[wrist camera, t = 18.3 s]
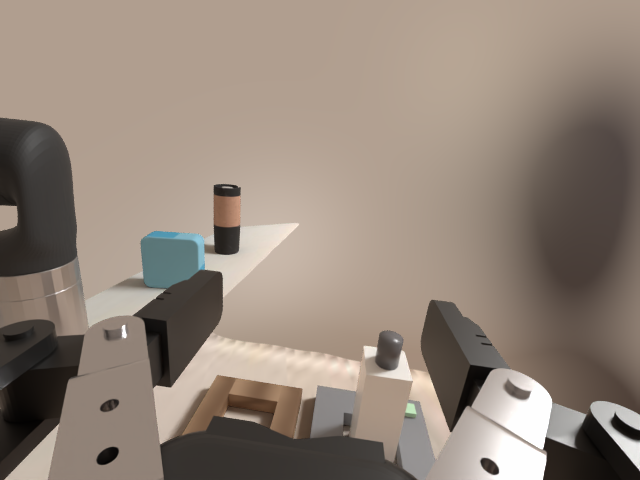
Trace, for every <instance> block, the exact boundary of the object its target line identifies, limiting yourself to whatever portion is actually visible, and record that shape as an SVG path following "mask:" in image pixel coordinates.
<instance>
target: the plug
mask: <svg viewBox="0 0 640 480" xmlns="http://www.w3.org/2000/svg"><path fill="white" fill-rule="evenodd" d="M402 345H403V338H402V337H401V335H399V334H397V333H396V332H393V331H383V332H381V333H380V335H379V340H378V345H377V348H376V347H370V346H364V348H363V354H362V360H361V366H360V372H359V378H358V384H357V390H356V396H355V402H354V408H353V414H352V420H351V426H350V432H349V437H352V438H358V439H365V440H371V441H377V442H383V447H384V455H385V459H386V460H389V461H391V462H393V463H394V459H395V455H396V451H397V446H398V442H399V438H400V434H401V429H402V425H403V421H404V416H405V412H406V408H407V404H408V399H409V395H410V391H411V386H412V382H413V381H412V377H411V373H410V370H409V366H408V363H407V359H406V356H405V352H404V351H401V350H402Z"/></svg>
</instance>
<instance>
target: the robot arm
mask: <svg viewBox="0 0 640 480" xmlns="http://www.w3.org/2000/svg"><path fill="white" fill-rule="evenodd" d="M0 205H8V206H17V211H18V224H17V226H16V227H14V228H11V229H8V230H3V231H0V480H4V479H5V478H6V477H7V476H8V475H9V474H10V473H11V472H12V471H13V470H14V469H15V468H16V467H17V466H18V465H19V464H20V463H21V462H22V461H23V460H24V459H25V458H26V457H27V456H28V455H29V454H30V453H31V451H32V450H33V449H34V448H35V447H36V446H37V445H38V444H39V443H40V442H41V441H42V440H43V439H44V438H45V437H46V436H47V435H48V434H49V433H50V432H51V431H52V430H53V429H54V428H55V427H56V426H57V425H58V424H59V428H58V433H57V438H56V443H55V447H54V452H53V457H52V462H51V467H50V472H49V477H48V480H418V479H417V478H415V477H414V476H413V475H412V474H410V473H409V472H407V471H406V470H405V469H403V468H402V467H400V466H398V465H396V464H394V463H393V462H391V461H389V460H386V459H385V455H384V447H383V442H377V441H371V440H365V439H358V438H352V437H346V436H330V437H319V438H307V439H293V438H290V437H288V436H285V435H283V434H281V433H278V432H276V431H274V430H272V429H269V428H267V427H265V426H262V425H260V424H258V423H255V422H251V421H245V420H239V419H232V418H226V417H220V416H213V418H212V420H211V421H210V423H209V425H208V427H207V429H206V430H204V431H197V432H192V433H188V434H184V435H181V436H178V437H176V438H173V439H171V440H168V441H166V442H164V443H162V444H160V443H159V435H158V426H157V418H156V410H155V402H154V394H153V388H154V387H155V386H156V385H158V386H164V387H172V385H173V384H174V383H175V381H176V380H177V379H178V377H179V376H180V375H181V373H182V372H183V371H184V369H185V368H186V367H187V365H188V364H189V363H190V361H191V360H192V358H193V357H194V356H195V354H196V353H197V352H198V350H199V349H200V348H201V346H202V345H203V344H204V342H205V341H206V340H207V338H208V337H209V336H210V334H211V333H212V332H213V330H214V329H215V327H216V326H217V325H218V323H219V321H220V319H221V315H222V310H223V277H222V273H221V272H218V271H210V270H202V269H201V270H199V271H198V272H197V273H195V274H194V275H193V276H192V277H191V278H189V279H188V280H183V281H181V282H178V283H176V284H173V285H172V286H170V287H169V288H168V289H166V290H165V291H164V292H163V293H161V294H160V295H159V296H157V297H156V299H154V300H152V301H151V302H150V303H148V304H147V305H146V306H144V307H143V308H142V309H141V310H139V311H138V312H137V313H135V314H134V315H133V316H117V317H112V318H109V319H105V320H103V321H100V322H98V323H96V324H94V325H93V326H91V327H90V328H89V326H88V319H87V313H86V306H85V300H84V293H83V287H82V281H81V275H80V268H79V262H78V256H77V248H76V233H77V225H76V216H75V207H74V195H73V181H72V170H71V163H70V158H69V154H68V150H67V148H66V145H65V143H64V141H63V139H62V138H61V136H60V135H59V134H58V132H57V131H55V130H54V129H53V128H52V127H50V126H49V125H46V124H43V123H40V122H34V121H26V120H17V119H7V118H0ZM421 351H422V355H423V357H424V360H425V363H426V366H427V368H428V371H429V374H430V377H431V380H432V383H433V385H434V388H435V391H436V394H437V397H438V399H439V402H440V405H441V408H442V411H443V413H444V416H445V419H446V422H447V425H448V427H449V430H450V432H452V433H451V435H450V436H449V438H448V440H447V442H446V443H445V445H444V447H443V449H442V450H441V452H440V454H439V456H438V457H437V459H436V461H435V463H434V464H433V466H432V468H431V470H430V471H429V473H428V475H427V477H426V479H425V480H640V415H639V414H637V413H635V412H633V411H631V410H629V409H627V408H625V407H622V406H620V405H617V404H613V403H610V402H604V401H597V402H594V403H592V404H591V406H590V408H589V410H588V412H587V414H583V413H580V412H577V411H575V410H572V409H569V408H566V407H563V406H560V405H557V404H555V403H552V400H551V397H550V395H549V394H548V392H547V391H546V390H545V389H544V388H543V387H542V386H541V385H540V384H539V383H537V382H536V381H534V380H533V379H531V378H530V377H528V376H526V375H524V374H522V373H519V372H517V371H514V370H511V369H510V368H509V366H508V365H507V364H506V362H505V361H504V360H503V358H502V357H501V356H500V354H499V353H498V351H497V350H496V349H495V347H494V346H492V343H491V342H490V340H489V339H488V338H486V335H485V334H484V332H483V331H482V329H481V328H480V327H479V326H478V325H477V324H475V323H474V322H473V321H471V320H470V319H468V318H466V317H463V316H462V314H461V313H460V311H459V310H458V308H457V307H456V305H455V304H454V303H452V302H445V301H438V300H431V301H430V303H429V306H428V311H427V315H426V319H425V323H424V328H423V332H422V337H421Z"/></svg>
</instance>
